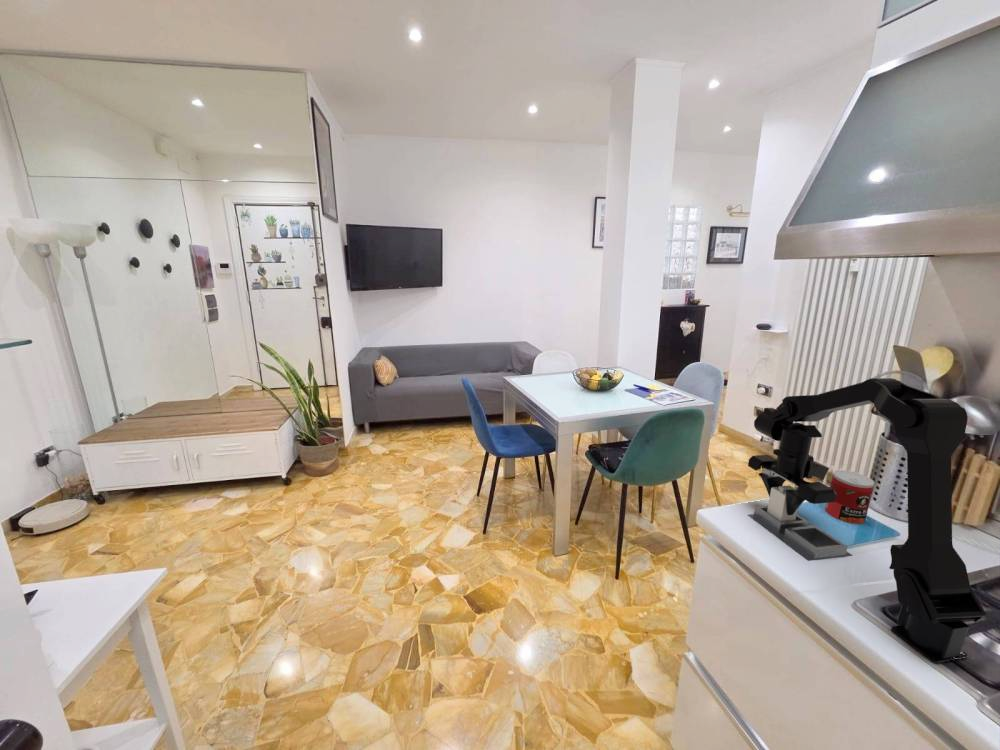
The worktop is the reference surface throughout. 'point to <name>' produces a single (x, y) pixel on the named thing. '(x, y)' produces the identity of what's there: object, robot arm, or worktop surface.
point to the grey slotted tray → (801, 536)
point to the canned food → (850, 496)
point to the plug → (780, 504)
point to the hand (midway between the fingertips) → (782, 509)
